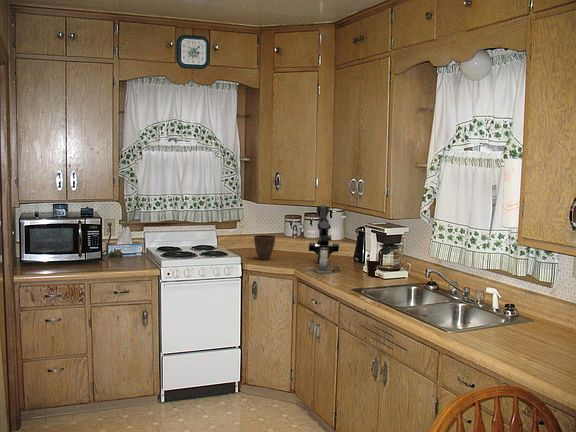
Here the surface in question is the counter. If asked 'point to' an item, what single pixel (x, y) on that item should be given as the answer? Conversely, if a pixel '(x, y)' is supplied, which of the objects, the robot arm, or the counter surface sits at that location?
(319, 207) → the robot arm
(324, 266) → the steel canister
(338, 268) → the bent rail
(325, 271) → the slate pad
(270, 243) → the plant pot
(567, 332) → the counter surface
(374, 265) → the coffee mug
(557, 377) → the counter surface
